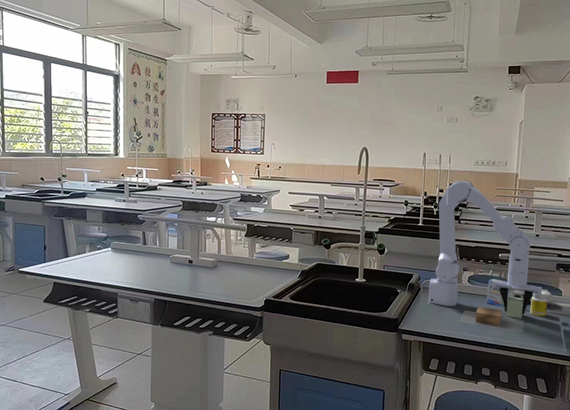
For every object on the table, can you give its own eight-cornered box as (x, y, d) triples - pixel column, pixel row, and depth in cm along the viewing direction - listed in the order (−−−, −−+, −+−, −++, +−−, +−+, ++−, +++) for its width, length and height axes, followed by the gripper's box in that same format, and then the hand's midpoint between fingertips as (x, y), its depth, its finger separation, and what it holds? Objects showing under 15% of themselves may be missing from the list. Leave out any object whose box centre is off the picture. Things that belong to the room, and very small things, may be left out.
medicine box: (486, 303, 178) (488, 280, 177) (492, 301, 181) (493, 278, 180) (508, 309, 172) (510, 284, 171) (513, 306, 175) (515, 282, 174)
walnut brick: (475, 321, 154) (476, 312, 153) (477, 315, 160) (478, 306, 159) (499, 325, 150) (500, 316, 150) (501, 319, 157) (502, 310, 156)
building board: (458, 325, 153) (458, 322, 152) (464, 313, 165) (464, 310, 165) (523, 336, 144) (523, 333, 144) (523, 323, 157) (524, 320, 157)
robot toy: (507, 306, 179) (554, 308, 174) (507, 293, 179) (554, 296, 174) (505, 297, 191) (549, 300, 185) (505, 286, 190) (549, 288, 185)
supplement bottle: (547, 320, 161) (550, 294, 160) (532, 318, 162) (534, 293, 161) (543, 315, 166) (545, 291, 165) (528, 314, 167) (530, 289, 166)
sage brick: (506, 317, 161) (507, 299, 160) (506, 313, 165) (508, 296, 164) (521, 320, 159) (523, 301, 158) (521, 316, 163) (523, 298, 162)
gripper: (492, 270, 160) (489, 311, 161) (543, 277, 154) (539, 319, 155) (494, 266, 166) (491, 306, 168) (542, 272, 160) (539, 313, 161)
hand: (514, 312), depth 162 cm, fingers closed on sage brick, 4 cm apart
